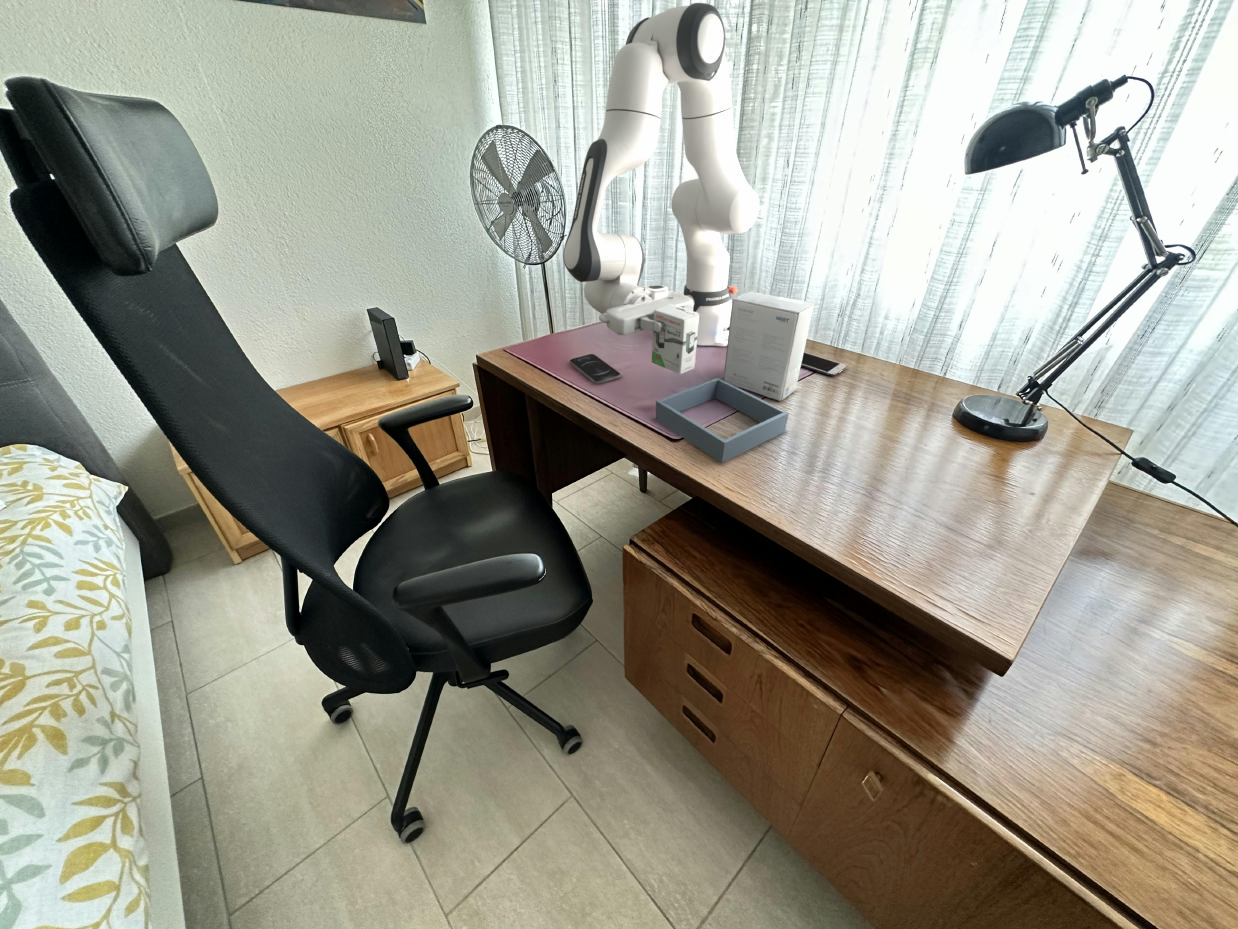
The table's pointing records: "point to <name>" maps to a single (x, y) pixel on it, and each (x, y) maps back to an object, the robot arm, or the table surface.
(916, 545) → the table surface
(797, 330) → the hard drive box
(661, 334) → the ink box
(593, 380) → the smartphone
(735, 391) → the tub
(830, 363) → the smartphone
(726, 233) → the robot arm
